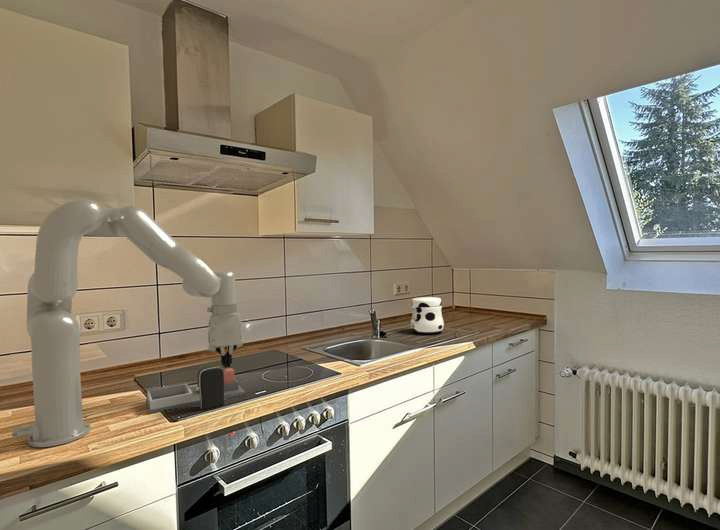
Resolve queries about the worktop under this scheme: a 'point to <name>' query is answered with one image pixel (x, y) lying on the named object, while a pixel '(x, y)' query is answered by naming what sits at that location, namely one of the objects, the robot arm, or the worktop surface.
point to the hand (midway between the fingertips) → (226, 366)
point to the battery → (211, 387)
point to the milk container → (427, 315)
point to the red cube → (229, 375)
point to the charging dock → (183, 396)
